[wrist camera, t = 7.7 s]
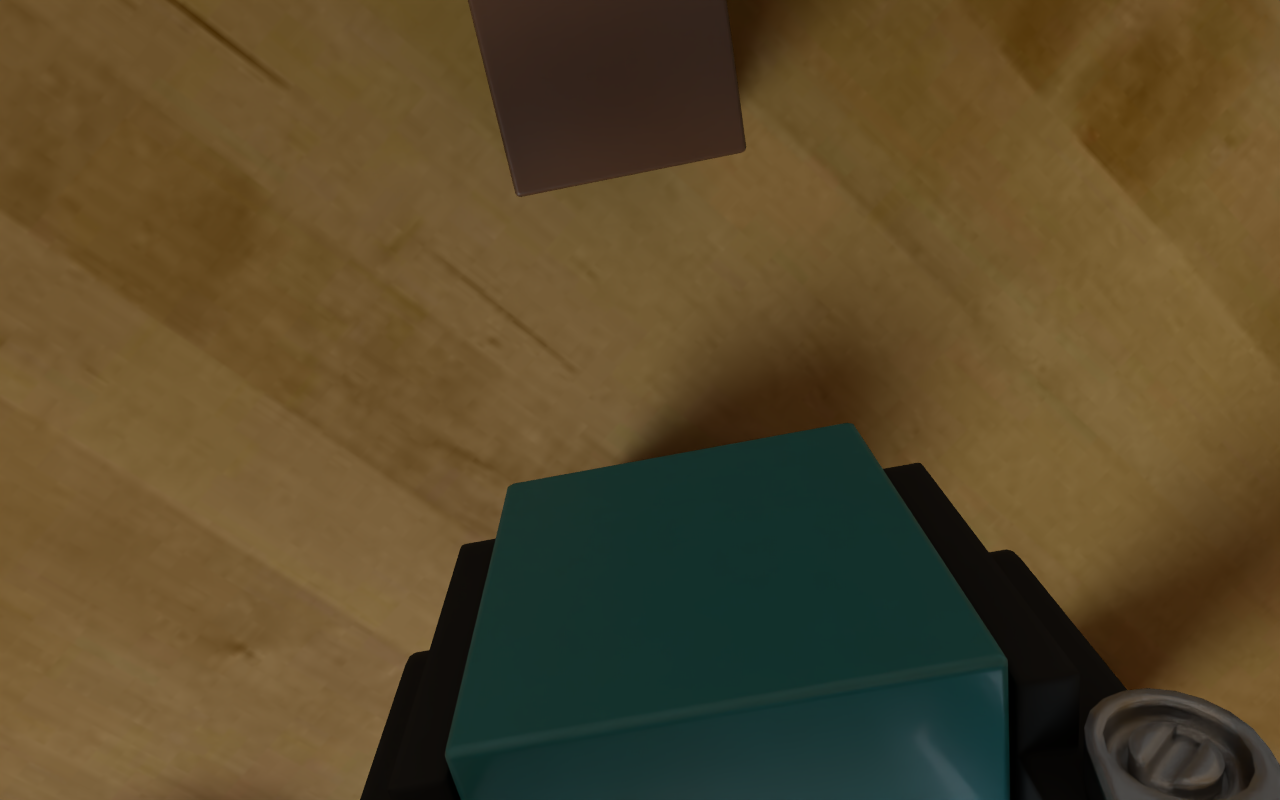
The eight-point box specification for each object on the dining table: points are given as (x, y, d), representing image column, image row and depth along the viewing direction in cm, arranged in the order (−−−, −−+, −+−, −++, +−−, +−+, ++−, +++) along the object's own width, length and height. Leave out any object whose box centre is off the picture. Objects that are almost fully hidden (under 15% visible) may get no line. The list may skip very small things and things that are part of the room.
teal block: (505, 482, 10) (439, 755, 6) (852, 418, 10) (1013, 658, 6) (579, 741, 12) (564, 1089, 8) (879, 691, 12) (1017, 1020, 8)
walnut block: (486, -40, 18) (451, -65, 14) (687, -83, 18) (711, -121, 14) (534, 166, 20) (516, 198, 15) (718, 129, 19) (747, 152, 15)
